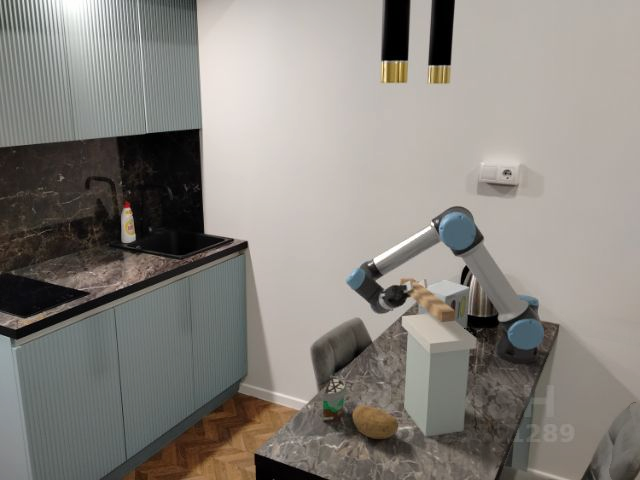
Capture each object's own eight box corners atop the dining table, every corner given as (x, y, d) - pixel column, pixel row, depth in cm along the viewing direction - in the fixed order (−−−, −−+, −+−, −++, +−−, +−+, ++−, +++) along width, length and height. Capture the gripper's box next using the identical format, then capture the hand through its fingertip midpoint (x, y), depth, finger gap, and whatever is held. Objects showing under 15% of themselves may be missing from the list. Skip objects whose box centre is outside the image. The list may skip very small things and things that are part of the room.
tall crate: (398, 404, 189) (402, 316, 181) (438, 398, 192) (444, 312, 184) (424, 440, 170) (430, 343, 162) (468, 433, 174) (476, 338, 166)
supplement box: (442, 339, 236) (445, 296, 232) (416, 329, 246) (418, 288, 241) (467, 327, 248) (471, 286, 243) (441, 318, 257) (444, 278, 252)
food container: (342, 426, 177) (343, 396, 174) (322, 424, 178) (322, 394, 175) (349, 405, 188) (349, 376, 186) (330, 403, 189) (330, 374, 187)
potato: (387, 452, 164) (388, 427, 162) (345, 434, 172) (345, 410, 170) (404, 436, 172) (406, 411, 170) (363, 420, 180) (364, 396, 178)
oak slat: (400, 287, 194) (400, 278, 193) (411, 286, 195) (411, 277, 194) (441, 322, 166) (442, 312, 165) (454, 320, 167) (455, 310, 166)
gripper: (417, 305, 208) (445, 293, 186) (371, 310, 203) (394, 298, 181) (414, 284, 209) (441, 270, 188) (368, 288, 205) (391, 274, 183)
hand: (418, 284), depth 185 cm, fingers closed on oak slat, 4 cm apart
